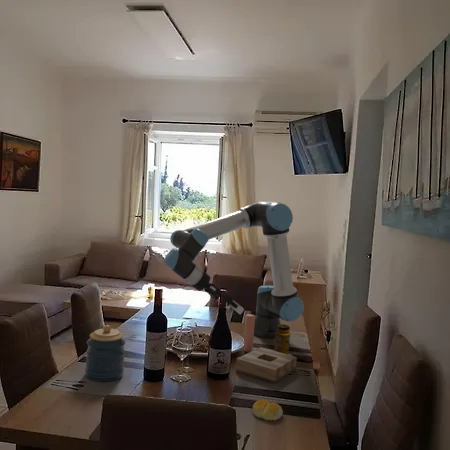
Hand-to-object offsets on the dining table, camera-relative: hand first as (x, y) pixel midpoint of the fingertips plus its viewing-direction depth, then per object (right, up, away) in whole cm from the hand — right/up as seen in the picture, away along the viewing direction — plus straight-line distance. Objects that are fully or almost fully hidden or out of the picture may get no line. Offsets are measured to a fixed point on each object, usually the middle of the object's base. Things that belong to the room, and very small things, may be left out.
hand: (236, 309), depth 195 cm
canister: (-46, -17, -31) cm, 59 cm away
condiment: (+18, -20, +4) cm, 27 cm away
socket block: (+11, -20, -16) cm, 28 cm away
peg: (+5, -18, +5) cm, 20 cm away
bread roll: (+8, -23, -52) cm, 57 cm away
